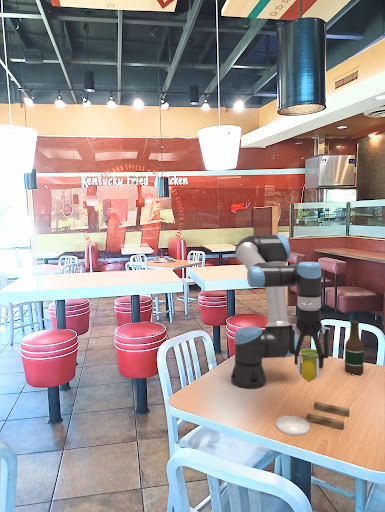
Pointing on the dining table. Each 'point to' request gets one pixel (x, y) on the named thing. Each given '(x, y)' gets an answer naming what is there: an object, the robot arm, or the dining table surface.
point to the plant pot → (309, 354)
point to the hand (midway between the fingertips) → (308, 375)
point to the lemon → (308, 370)
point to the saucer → (292, 425)
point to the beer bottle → (354, 351)
